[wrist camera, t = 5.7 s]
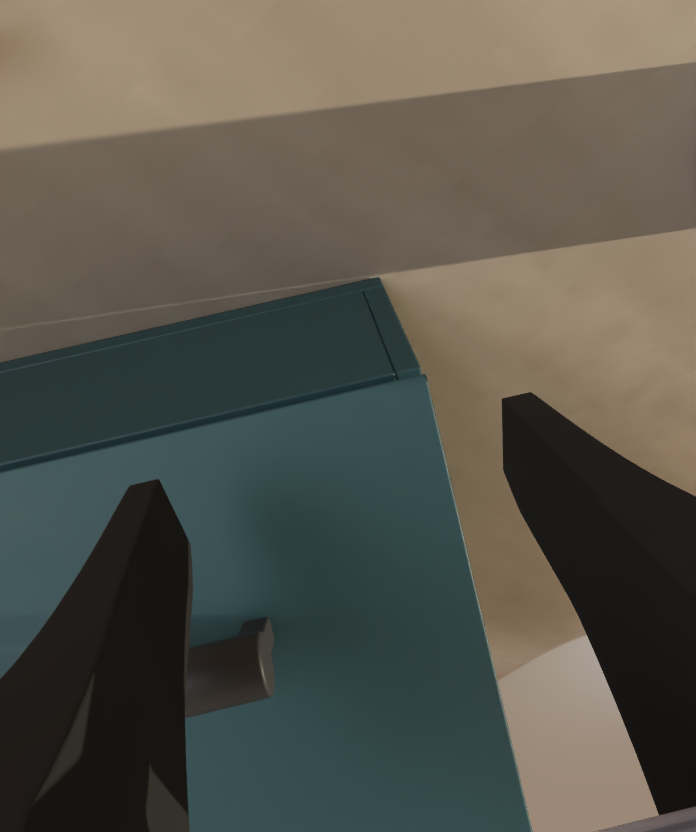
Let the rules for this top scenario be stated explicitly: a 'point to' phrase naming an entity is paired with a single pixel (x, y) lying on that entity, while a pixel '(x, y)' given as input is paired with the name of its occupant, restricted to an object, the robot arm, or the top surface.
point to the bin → (200, 372)
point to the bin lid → (300, 613)
